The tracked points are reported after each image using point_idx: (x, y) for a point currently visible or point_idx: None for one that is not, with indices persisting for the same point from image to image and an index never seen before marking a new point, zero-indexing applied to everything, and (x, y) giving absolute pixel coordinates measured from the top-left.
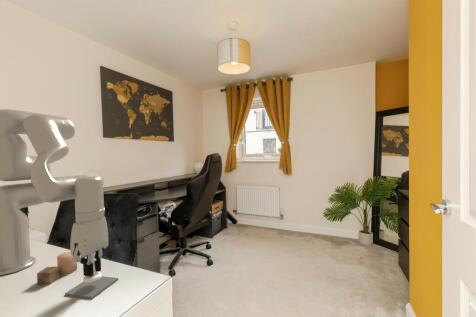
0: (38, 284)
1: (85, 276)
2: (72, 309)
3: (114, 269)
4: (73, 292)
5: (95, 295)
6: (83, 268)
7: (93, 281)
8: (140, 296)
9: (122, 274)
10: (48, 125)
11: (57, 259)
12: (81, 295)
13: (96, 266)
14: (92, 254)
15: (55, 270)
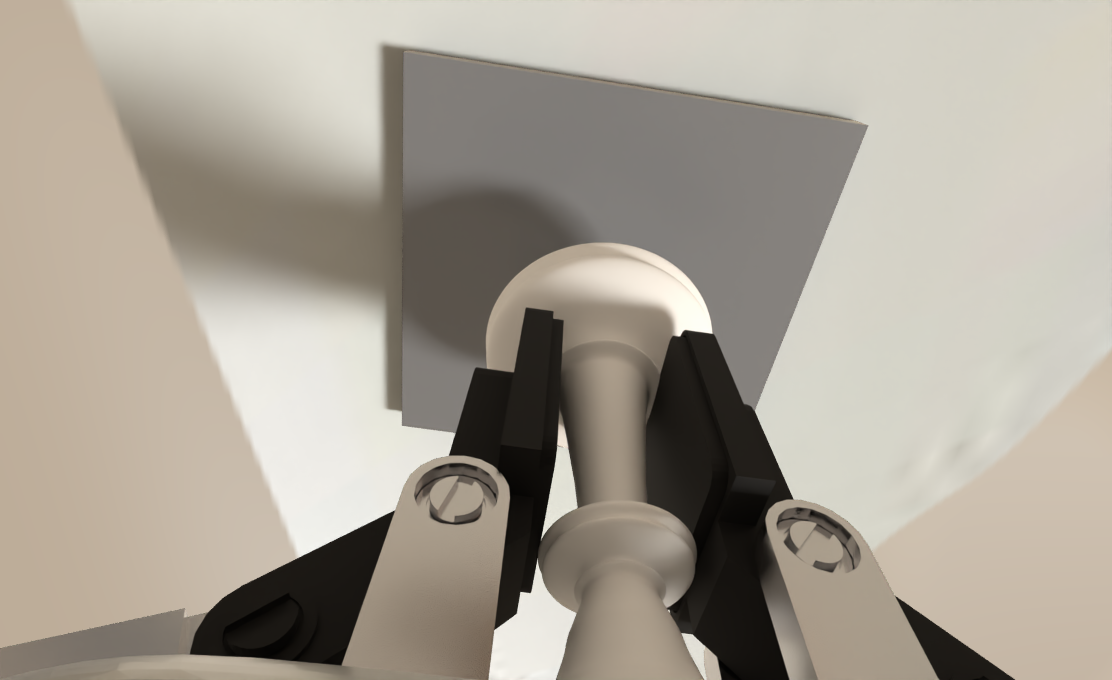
0: None
1: (554, 299)
2: (248, 342)
3: (1014, 291)
4: (437, 167)
5: (440, 424)
6: (457, 427)
7: (681, 249)
8: (494, 668)
9: (840, 441)
10: None
11: None
12: (402, 310)
13: (659, 472)
14: None
15: None
